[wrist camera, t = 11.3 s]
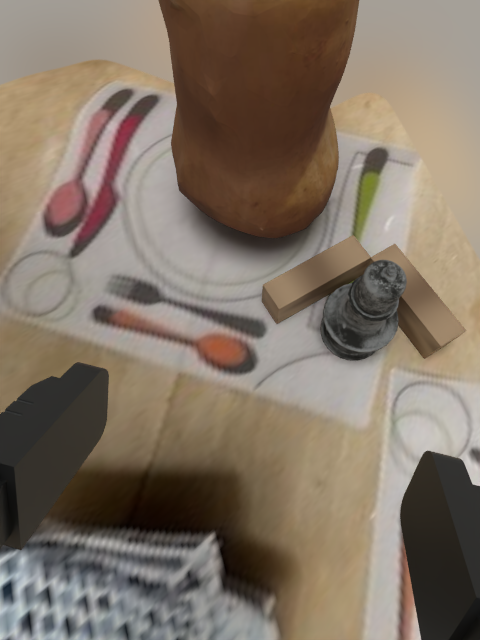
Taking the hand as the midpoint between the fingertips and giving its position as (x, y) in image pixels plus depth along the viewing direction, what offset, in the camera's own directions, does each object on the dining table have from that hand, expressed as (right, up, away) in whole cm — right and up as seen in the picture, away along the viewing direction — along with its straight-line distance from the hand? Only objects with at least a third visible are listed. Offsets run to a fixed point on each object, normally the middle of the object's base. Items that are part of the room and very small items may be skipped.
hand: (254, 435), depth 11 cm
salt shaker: (+9, +2, +27) cm, 29 cm away
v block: (+10, +5, +28) cm, 30 cm away
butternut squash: (+1, +14, +32) cm, 35 cm away
